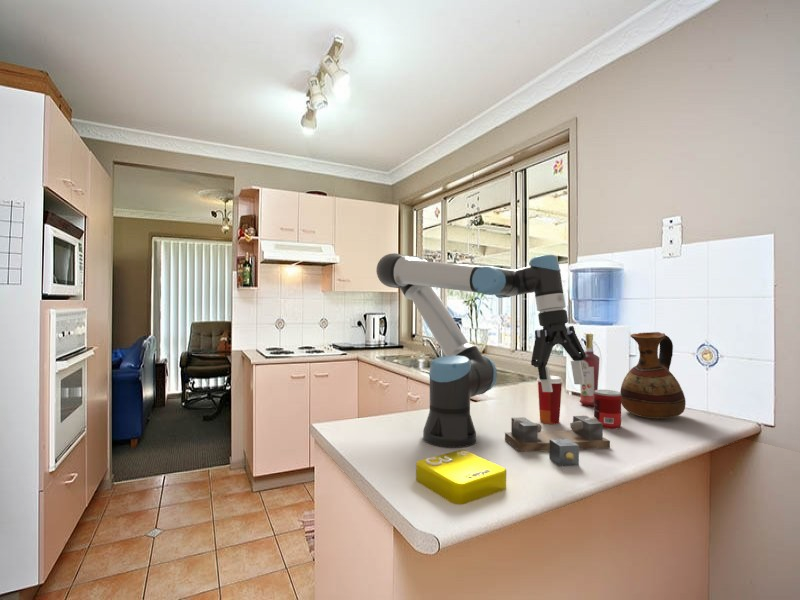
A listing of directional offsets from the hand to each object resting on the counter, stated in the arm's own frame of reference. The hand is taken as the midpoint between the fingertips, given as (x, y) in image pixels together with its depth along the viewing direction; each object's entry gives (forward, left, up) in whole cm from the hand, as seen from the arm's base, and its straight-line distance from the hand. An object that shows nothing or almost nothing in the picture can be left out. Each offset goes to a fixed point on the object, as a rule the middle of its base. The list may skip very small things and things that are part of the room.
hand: (564, 388), depth 112 cm
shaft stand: (0, +4, -16) cm, 17 cm away
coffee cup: (+9, +25, -17) cm, 32 cm away
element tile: (-34, -18, -17) cm, 42 cm away
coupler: (-5, -9, -17) cm, 19 cm away
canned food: (+26, +19, -17) cm, 36 cm away
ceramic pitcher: (+50, +29, -17) cm, 60 cm away
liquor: (+36, +45, -17) cm, 60 cm away
